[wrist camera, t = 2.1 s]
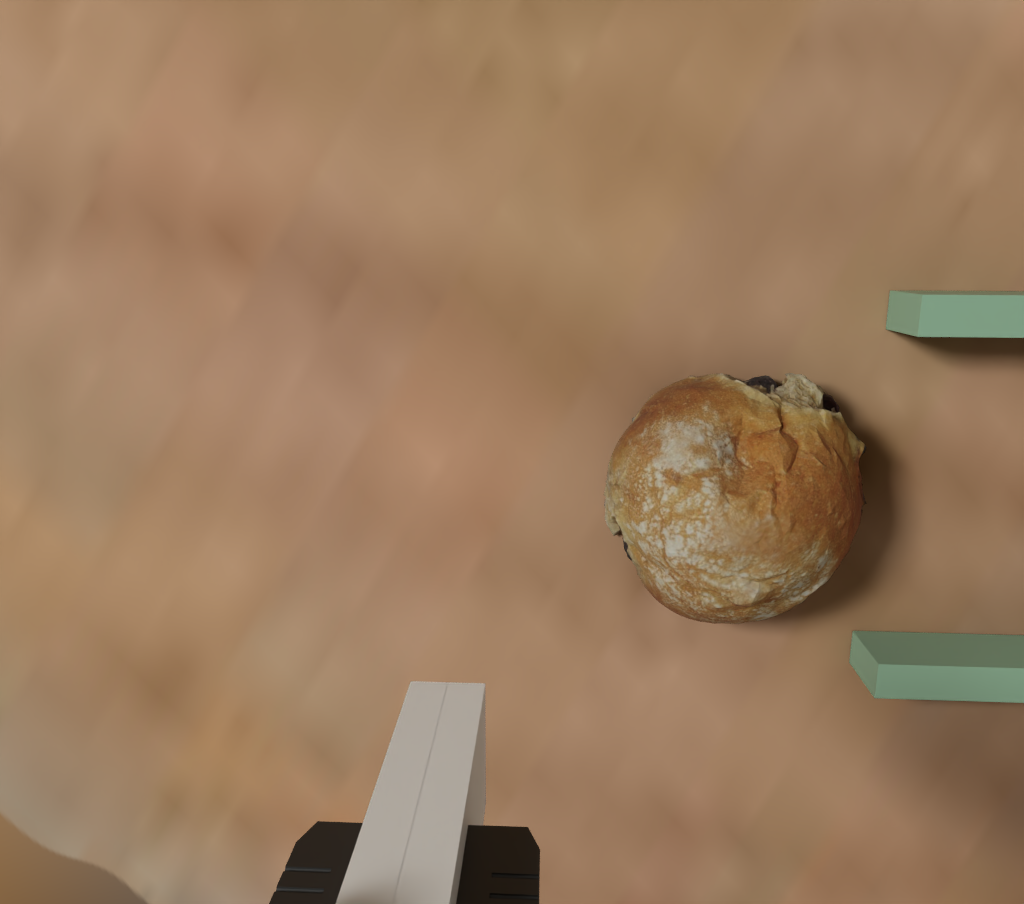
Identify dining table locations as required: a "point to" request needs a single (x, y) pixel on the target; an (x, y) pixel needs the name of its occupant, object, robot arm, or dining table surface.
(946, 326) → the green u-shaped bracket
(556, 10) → the dining table surface
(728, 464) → the bread roll
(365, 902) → the robot arm
